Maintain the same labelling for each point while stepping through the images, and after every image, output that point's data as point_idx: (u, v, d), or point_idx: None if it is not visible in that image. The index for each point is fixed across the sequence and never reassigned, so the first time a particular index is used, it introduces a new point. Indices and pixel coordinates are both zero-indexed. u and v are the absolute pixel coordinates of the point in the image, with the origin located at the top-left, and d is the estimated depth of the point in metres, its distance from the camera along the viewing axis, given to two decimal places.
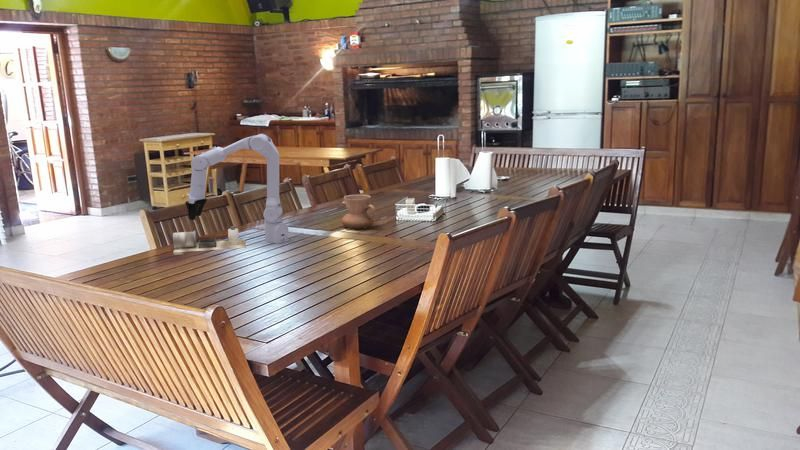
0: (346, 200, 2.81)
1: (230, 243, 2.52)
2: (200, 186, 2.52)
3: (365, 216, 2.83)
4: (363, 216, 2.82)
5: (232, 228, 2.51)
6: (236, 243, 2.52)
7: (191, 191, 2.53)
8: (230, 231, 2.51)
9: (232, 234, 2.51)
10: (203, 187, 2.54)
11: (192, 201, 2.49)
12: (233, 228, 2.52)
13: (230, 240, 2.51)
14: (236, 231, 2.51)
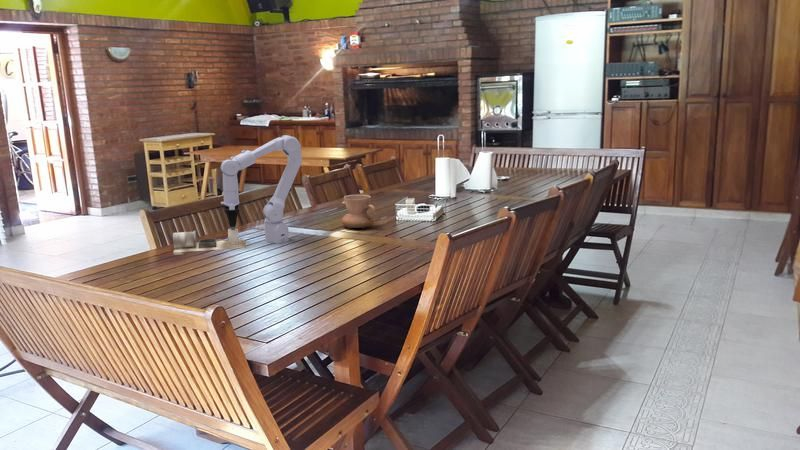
0: (346, 200, 2.81)
1: (230, 243, 2.52)
2: (235, 191, 2.47)
3: (365, 216, 2.83)
4: (363, 216, 2.82)
5: (232, 228, 2.51)
6: (236, 243, 2.52)
7: (226, 198, 2.47)
8: (230, 231, 2.51)
9: (232, 234, 2.51)
10: (237, 192, 2.49)
11: (233, 207, 2.43)
12: (233, 228, 2.52)
13: (230, 240, 2.51)
14: (236, 231, 2.51)
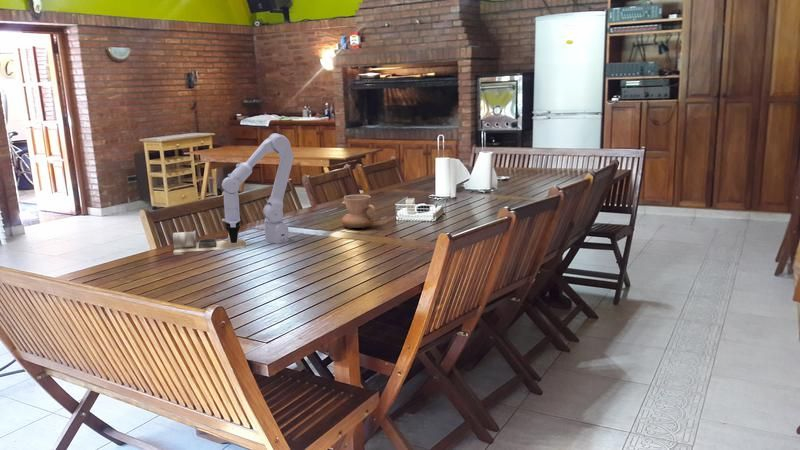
0: (346, 200, 2.81)
1: (230, 243, 2.52)
2: (236, 208, 2.49)
3: (365, 216, 2.83)
4: (363, 216, 2.82)
5: None
6: (236, 243, 2.52)
7: (227, 215, 2.48)
8: None
9: None
10: (238, 209, 2.50)
11: (234, 225, 2.45)
12: None
13: None
14: None
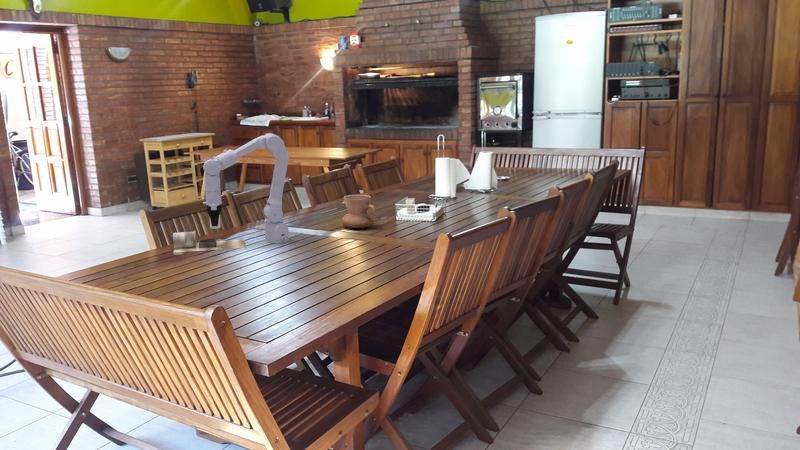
0: (346, 200, 2.81)
1: (211, 226, 2.48)
2: (217, 191, 2.45)
3: (365, 216, 2.83)
4: (363, 216, 2.82)
5: None
6: (217, 226, 2.49)
7: (208, 198, 2.45)
8: None
9: None
10: (219, 192, 2.47)
11: (214, 207, 2.42)
12: None
13: None
14: None
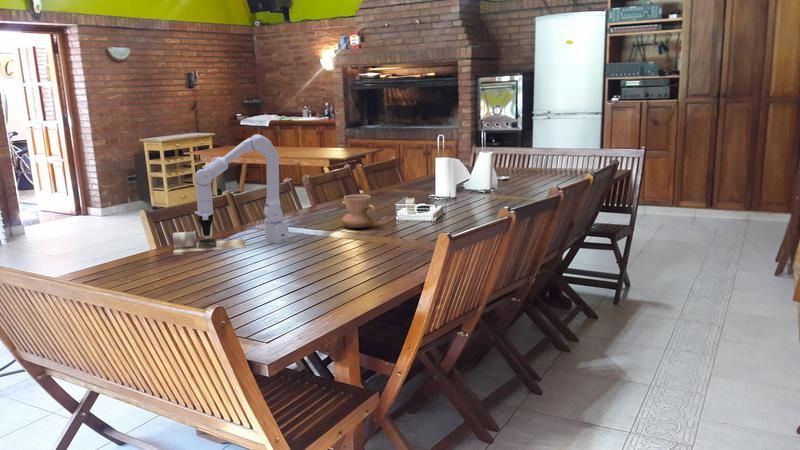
0: (346, 200, 2.81)
1: (203, 236, 2.48)
2: (208, 201, 2.45)
3: (365, 216, 2.83)
4: (363, 216, 2.82)
5: None
6: (209, 236, 2.49)
7: (200, 208, 2.45)
8: None
9: None
10: (211, 201, 2.47)
11: (206, 217, 2.41)
12: None
13: None
14: None
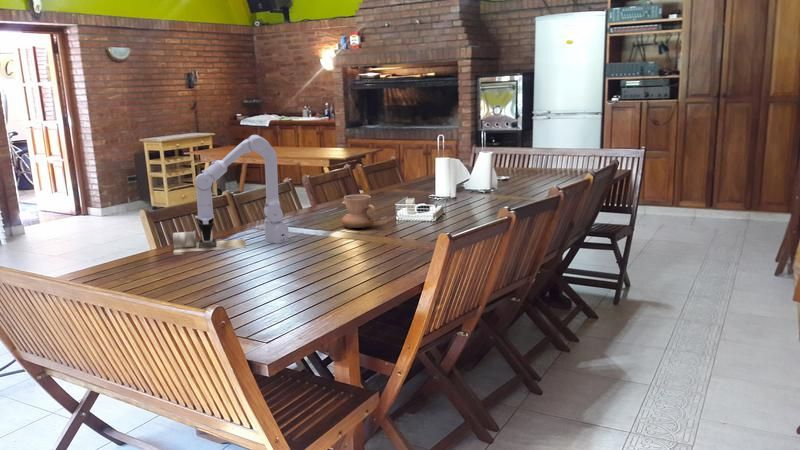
0: (346, 200, 2.81)
1: None
2: (209, 205, 2.46)
3: (365, 216, 2.83)
4: (363, 216, 2.82)
5: None
6: None
7: (200, 212, 2.45)
8: None
9: None
10: (211, 206, 2.47)
11: (206, 222, 2.42)
12: None
13: (204, 242, 2.49)
14: None
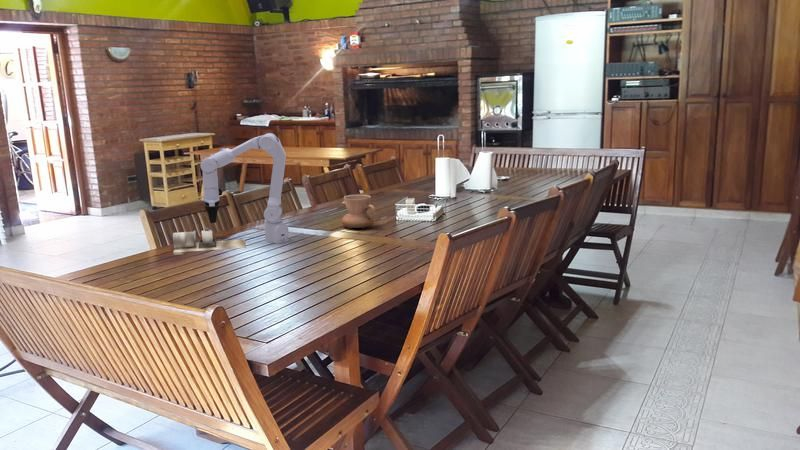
0: (346, 200, 2.81)
1: None
2: (215, 188, 2.52)
3: (365, 216, 2.83)
4: (363, 216, 2.82)
5: (206, 229, 2.49)
6: None
7: (206, 195, 2.52)
8: (204, 232, 2.48)
9: (206, 235, 2.48)
10: (217, 189, 2.53)
11: (213, 204, 2.48)
12: (207, 229, 2.49)
13: (204, 242, 2.49)
14: (210, 232, 2.49)
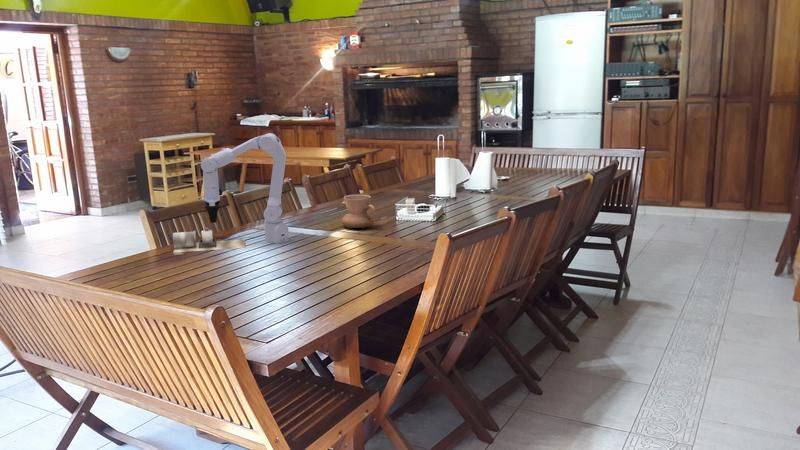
0: (346, 200, 2.81)
1: None
2: (215, 188, 2.52)
3: (365, 216, 2.83)
4: (363, 216, 2.82)
5: (206, 230, 2.49)
6: None
7: (207, 195, 2.52)
8: (204, 233, 2.48)
9: (206, 235, 2.48)
10: (217, 188, 2.54)
11: (213, 203, 2.49)
12: (207, 230, 2.49)
13: (204, 242, 2.49)
14: (210, 233, 2.49)
